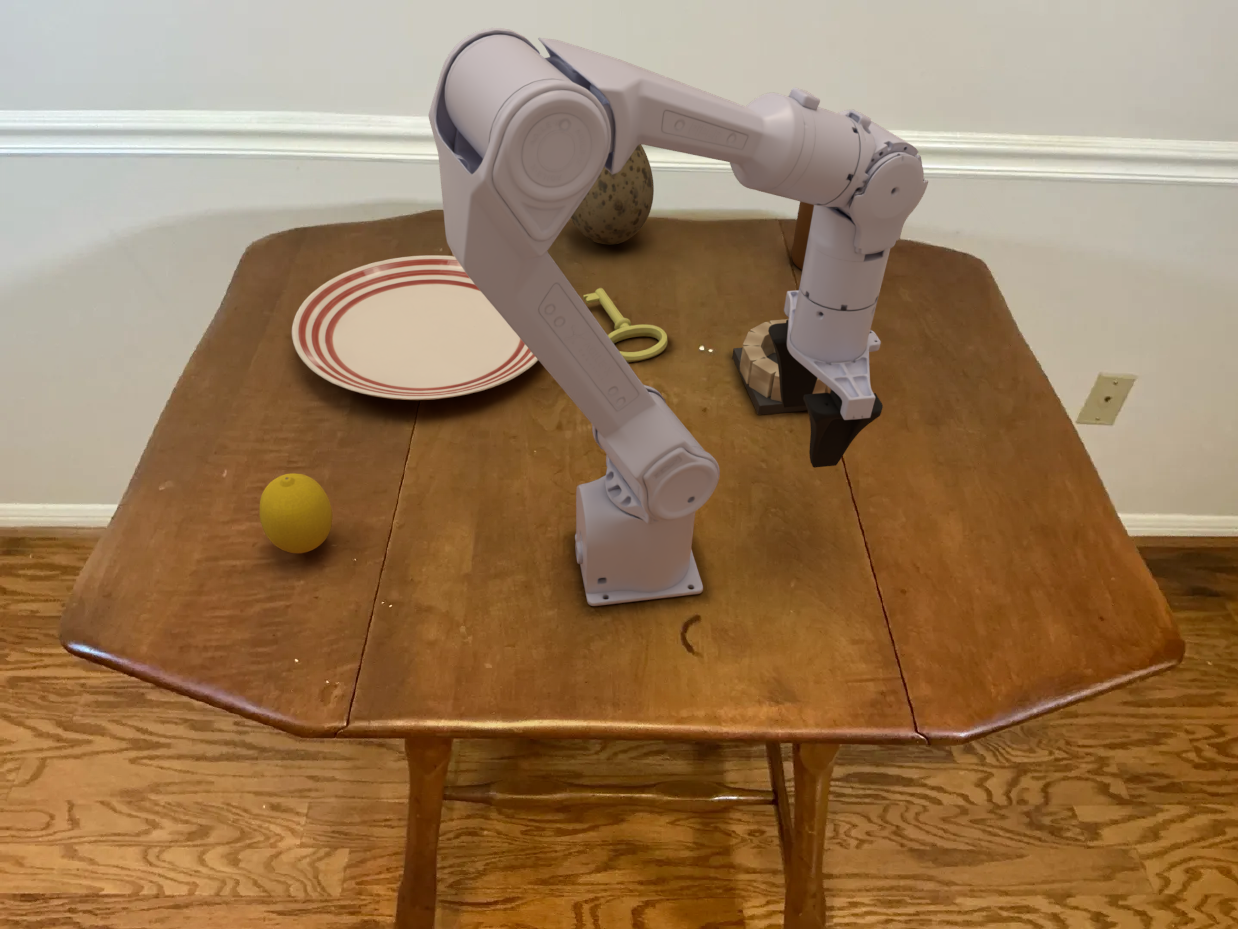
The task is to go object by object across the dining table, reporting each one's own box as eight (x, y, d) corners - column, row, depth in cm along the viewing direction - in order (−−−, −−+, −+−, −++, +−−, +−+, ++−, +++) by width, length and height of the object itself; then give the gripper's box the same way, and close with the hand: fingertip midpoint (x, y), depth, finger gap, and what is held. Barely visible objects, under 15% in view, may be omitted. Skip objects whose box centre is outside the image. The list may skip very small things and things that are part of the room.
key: (599, 300, 110) (599, 284, 108) (675, 346, 103) (677, 330, 102) (552, 323, 106) (551, 307, 104) (628, 373, 99) (628, 356, 98)
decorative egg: (657, 259, 117) (664, 141, 107) (570, 263, 116) (569, 143, 106) (643, 218, 125) (649, 104, 115) (562, 221, 124) (561, 106, 114)
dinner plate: (522, 262, 115) (521, 238, 113) (587, 395, 96) (588, 368, 94) (288, 295, 108) (282, 269, 106) (309, 445, 89) (302, 417, 87)
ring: (759, 409, 93) (762, 385, 91) (728, 347, 101) (731, 323, 99) (861, 398, 95) (867, 374, 93) (823, 338, 103) (828, 315, 101)
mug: (865, 298, 112) (882, 225, 105) (801, 297, 111) (815, 224, 105) (845, 247, 121) (859, 177, 114) (785, 246, 120) (797, 176, 114)
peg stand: (758, 415, 95) (766, 362, 90) (732, 357, 102) (738, 306, 98) (852, 406, 96) (865, 354, 92) (820, 350, 103) (830, 299, 99)
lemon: (305, 582, 77) (284, 512, 71) (257, 554, 79) (234, 484, 73) (353, 541, 80) (337, 471, 75) (306, 515, 82) (287, 446, 77)
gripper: (931, 342, 64) (887, 487, 73) (855, 238, 75) (825, 376, 84) (832, 350, 63) (800, 496, 72) (769, 243, 74) (748, 383, 83)
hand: (808, 432), depth 78 cm, fingers open, 7 cm apart
